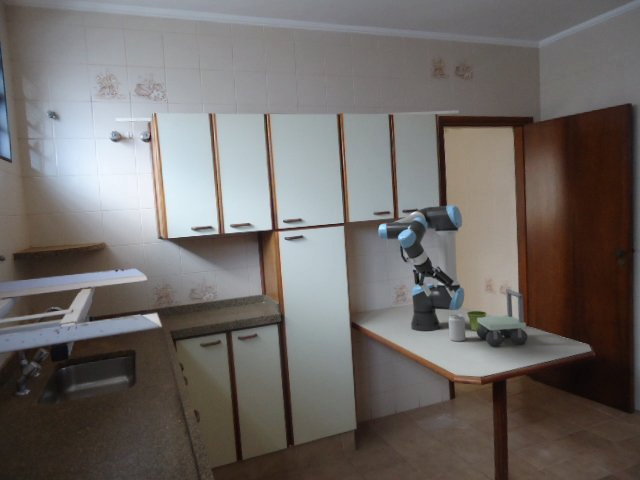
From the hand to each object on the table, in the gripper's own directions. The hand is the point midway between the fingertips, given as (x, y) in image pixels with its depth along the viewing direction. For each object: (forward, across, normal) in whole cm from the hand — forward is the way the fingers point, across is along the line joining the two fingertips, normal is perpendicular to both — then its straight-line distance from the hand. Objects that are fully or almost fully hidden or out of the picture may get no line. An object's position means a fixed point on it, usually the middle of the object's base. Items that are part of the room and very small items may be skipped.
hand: (441, 294), depth 212 cm
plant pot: (+38, -4, +13) cm, 40 cm away
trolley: (+32, +16, +3) cm, 36 cm away
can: (+26, -2, -4) cm, 27 cm away
